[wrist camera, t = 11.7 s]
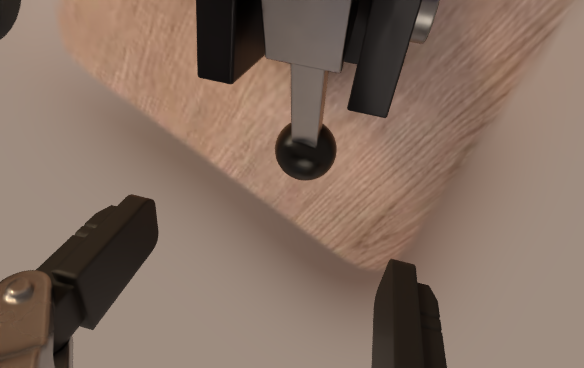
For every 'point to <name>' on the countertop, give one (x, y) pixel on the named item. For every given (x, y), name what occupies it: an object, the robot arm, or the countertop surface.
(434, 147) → the countertop surface
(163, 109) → the countertop surface
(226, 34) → the bracket
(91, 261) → the robot arm
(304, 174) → the lever
